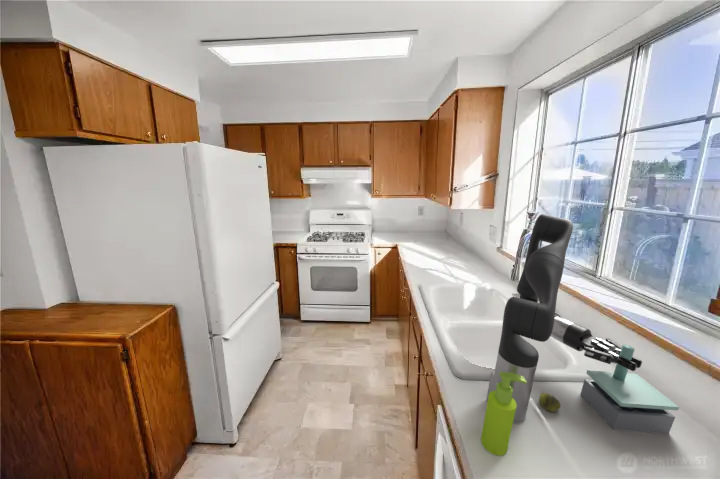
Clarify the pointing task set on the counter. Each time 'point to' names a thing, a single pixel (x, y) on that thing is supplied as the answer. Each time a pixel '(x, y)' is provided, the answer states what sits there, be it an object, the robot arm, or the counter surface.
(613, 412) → the tub
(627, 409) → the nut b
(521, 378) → the soap dispenser
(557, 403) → the lime
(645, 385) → the lid
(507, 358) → the robot arm
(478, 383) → the counter surface
